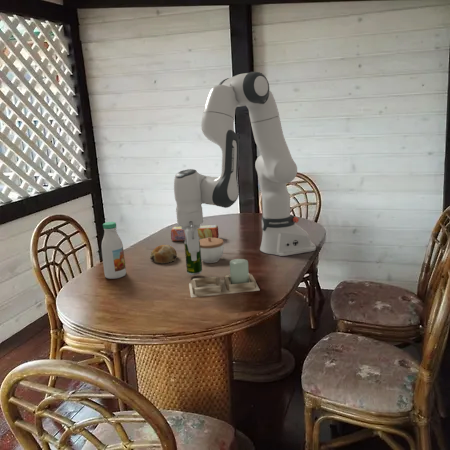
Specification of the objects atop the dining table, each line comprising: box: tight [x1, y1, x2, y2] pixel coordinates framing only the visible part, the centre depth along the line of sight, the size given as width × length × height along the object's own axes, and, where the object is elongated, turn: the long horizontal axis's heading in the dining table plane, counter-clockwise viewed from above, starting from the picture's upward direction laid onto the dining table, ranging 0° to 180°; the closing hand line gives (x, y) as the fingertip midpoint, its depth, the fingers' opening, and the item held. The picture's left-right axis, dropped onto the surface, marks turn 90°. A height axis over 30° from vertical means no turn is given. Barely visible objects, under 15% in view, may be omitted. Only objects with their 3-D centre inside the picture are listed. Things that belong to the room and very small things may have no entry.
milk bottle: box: [101, 221, 127, 280], centre depth 172 cm, size 8×8×20 cm
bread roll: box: [149, 244, 178, 264], centre depth 188 cm, size 10×10×8 cm
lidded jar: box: [199, 237, 225, 264], centre depth 184 cm, size 11×11×9 cm
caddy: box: [188, 273, 261, 298], centre depth 155 cm, size 22×12×3 cm, turn 97°
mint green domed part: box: [229, 258, 249, 284], centre depth 154 cm, size 6×6×8 cm
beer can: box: [183, 239, 203, 276], centre depth 164 cm, size 5×5×12 cm
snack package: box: [170, 224, 220, 242], centre depth 213 cm, size 21×7×7 cm, turn 82°
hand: (193, 257), depth 164 cm, fingers closed on beer can, 5 cm apart
